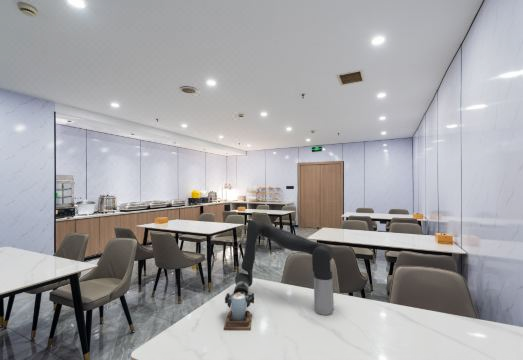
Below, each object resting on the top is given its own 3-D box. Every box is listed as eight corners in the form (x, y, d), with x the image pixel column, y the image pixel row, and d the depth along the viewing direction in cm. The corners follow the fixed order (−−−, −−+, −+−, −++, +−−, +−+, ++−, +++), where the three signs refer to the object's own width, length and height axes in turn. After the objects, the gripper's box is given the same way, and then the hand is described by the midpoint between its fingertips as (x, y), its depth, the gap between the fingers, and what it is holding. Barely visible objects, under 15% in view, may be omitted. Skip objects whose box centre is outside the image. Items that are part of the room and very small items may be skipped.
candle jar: (240, 315, 119) (240, 288, 120) (248, 321, 114) (248, 292, 115) (229, 320, 115) (229, 292, 116) (236, 325, 110) (236, 296, 111)
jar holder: (227, 316, 121) (227, 310, 121) (252, 316, 121) (252, 310, 121) (223, 330, 109) (223, 323, 109) (250, 330, 109) (250, 323, 109)
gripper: (228, 283, 131) (223, 297, 114) (254, 283, 131) (253, 296, 114) (228, 298, 130) (223, 313, 114) (254, 298, 130) (253, 313, 114)
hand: (238, 305), depth 114 cm, fingers open, 8 cm apart
